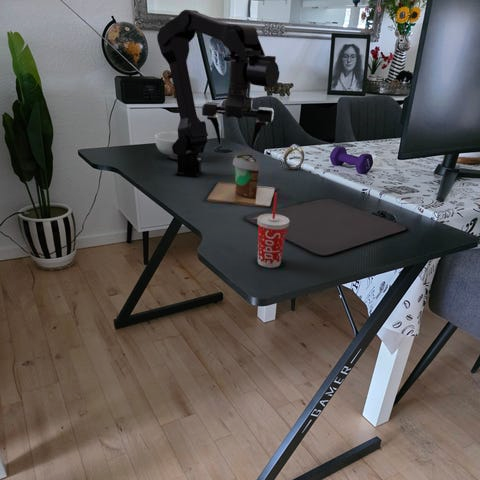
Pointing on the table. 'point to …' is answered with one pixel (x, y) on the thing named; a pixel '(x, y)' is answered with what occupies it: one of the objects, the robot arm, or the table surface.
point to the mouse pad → (331, 226)
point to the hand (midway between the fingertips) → (236, 145)
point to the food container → (246, 175)
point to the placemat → (228, 195)
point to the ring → (290, 152)
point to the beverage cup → (271, 237)
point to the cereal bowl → (166, 142)
